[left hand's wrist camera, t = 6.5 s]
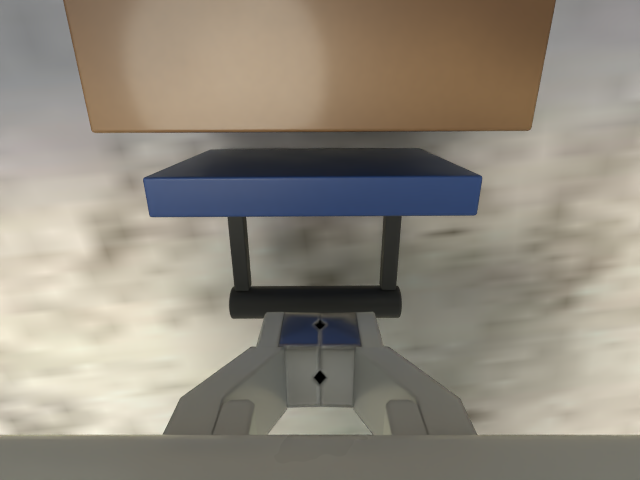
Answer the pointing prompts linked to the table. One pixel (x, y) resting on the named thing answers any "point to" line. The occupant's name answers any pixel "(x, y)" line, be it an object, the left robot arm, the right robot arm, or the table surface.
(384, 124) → the cabinet
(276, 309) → the drawer
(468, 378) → the table surface
